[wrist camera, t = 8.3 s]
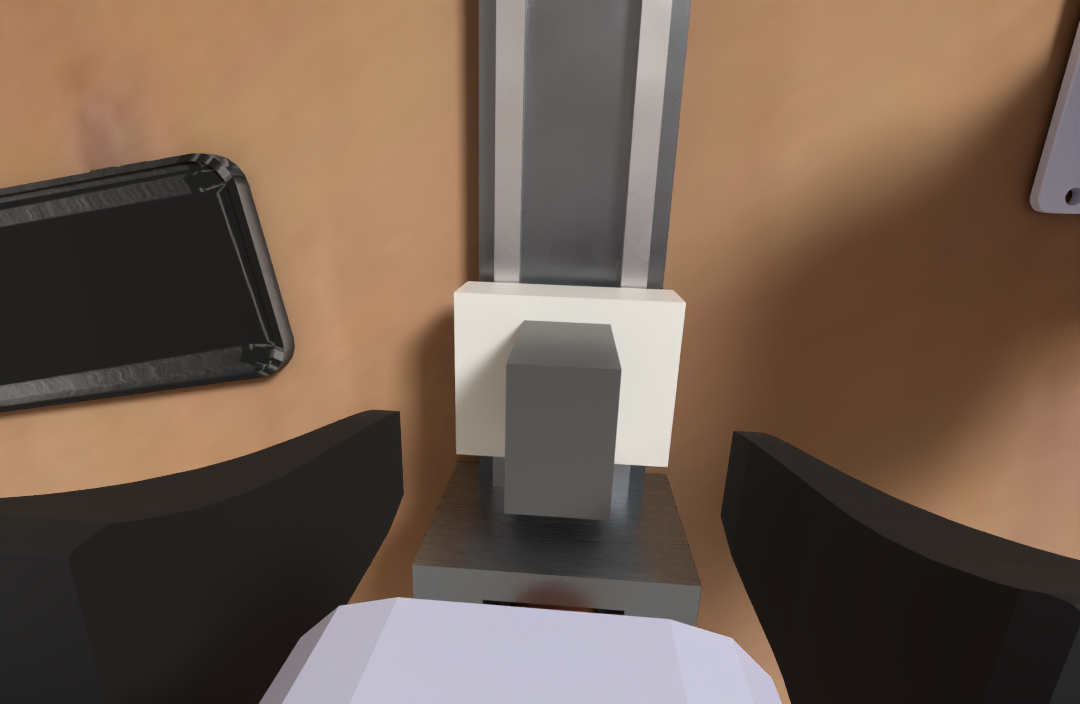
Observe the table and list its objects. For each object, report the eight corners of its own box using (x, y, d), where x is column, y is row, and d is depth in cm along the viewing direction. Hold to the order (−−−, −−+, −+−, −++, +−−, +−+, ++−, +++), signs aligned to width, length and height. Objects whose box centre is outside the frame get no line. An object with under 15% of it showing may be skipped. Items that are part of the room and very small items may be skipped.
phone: (292, 373, 19) (-68, 421, 21) (307, 364, 20) (-36, 410, 22) (223, 143, 17) (-171, 216, 19) (244, 146, 18) (-130, 215, 20)
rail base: (762, -380, 13) (900, -811, 8) (651, 611, 22) (677, 758, 16) (447, -372, 14) (353, -772, 8) (459, 596, 22) (419, 733, 17)
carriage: (673, 290, 16) (724, 342, 11) (657, 437, 18) (695, 553, 12) (467, 280, 17) (411, 326, 11) (469, 426, 18) (418, 533, 13)
